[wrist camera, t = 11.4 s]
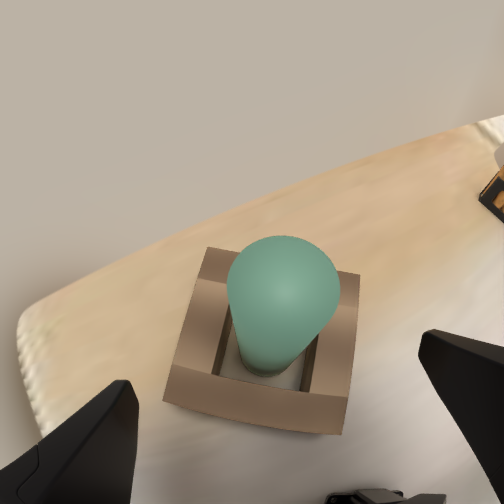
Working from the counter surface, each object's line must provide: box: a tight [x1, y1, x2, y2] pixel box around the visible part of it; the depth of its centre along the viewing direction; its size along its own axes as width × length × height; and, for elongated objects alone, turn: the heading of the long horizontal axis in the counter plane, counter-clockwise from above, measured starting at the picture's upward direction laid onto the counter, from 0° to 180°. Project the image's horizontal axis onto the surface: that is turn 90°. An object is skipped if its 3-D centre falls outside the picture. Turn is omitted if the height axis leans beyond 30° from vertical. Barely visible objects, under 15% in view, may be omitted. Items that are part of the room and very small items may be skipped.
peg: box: [227, 236, 340, 377], centre depth 15 cm, size 4×4×12 cm
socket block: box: [162, 247, 360, 435], centre depth 19 cm, size 11×11×4 cm
